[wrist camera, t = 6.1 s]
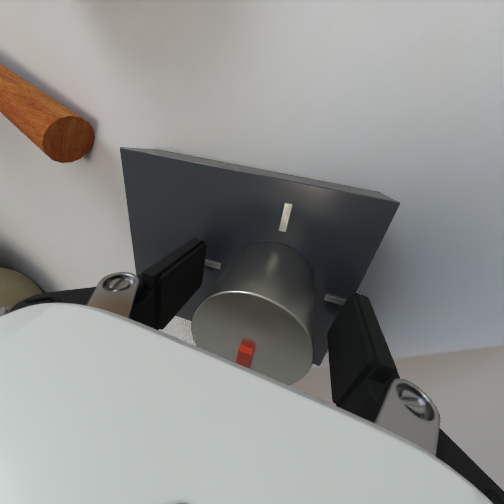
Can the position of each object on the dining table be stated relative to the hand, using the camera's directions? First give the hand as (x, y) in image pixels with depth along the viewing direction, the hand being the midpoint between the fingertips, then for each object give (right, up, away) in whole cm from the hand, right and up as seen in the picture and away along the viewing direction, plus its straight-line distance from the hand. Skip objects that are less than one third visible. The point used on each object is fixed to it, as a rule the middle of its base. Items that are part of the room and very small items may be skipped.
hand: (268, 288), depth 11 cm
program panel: (-1, +2, +4) cm, 5 cm away
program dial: (0, 0, +1) cm, 1 cm away
